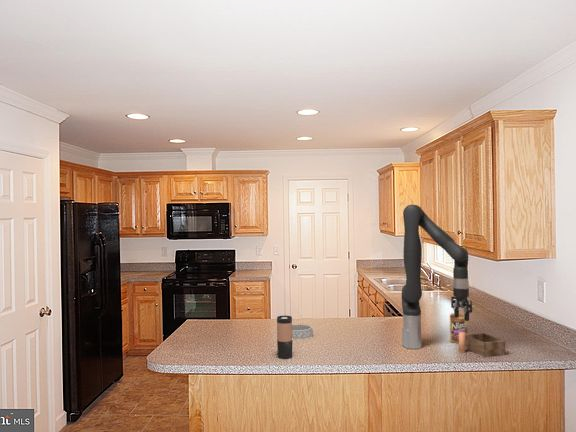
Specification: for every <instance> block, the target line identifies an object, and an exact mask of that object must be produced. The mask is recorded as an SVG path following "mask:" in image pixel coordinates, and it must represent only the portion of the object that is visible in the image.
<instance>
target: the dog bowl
mask: <svg viewBox="0 0 576 432" xmlns="http://www.w3.org/2000/svg"><path fill="white" fill-rule="evenodd" d="M313 333H314V330H313V327H312V326H311V325H309V324H306V323H305V324H304V323H303V324H302V323H301V324H299V323H296V324H294V323H293V324H292V338H293V339H305V338H310V337H312V336H313V337H314V334H313ZM313 337H312V338H313ZM310 339H311V338H310ZM305 340H306V339H305Z"/></svg>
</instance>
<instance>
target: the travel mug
mask: <svg viewBox="0 0 576 432" xmlns="http://www.w3.org/2000/svg"><path fill="white" fill-rule="evenodd" d="M292 325H293V317H292V315H279V316H277V317H276V337H277V338H276V345H277V358H278V359H280V360H290V359H292V358H293V340H292ZM289 358H290V359H289Z"/></svg>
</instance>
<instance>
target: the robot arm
mask: <svg viewBox="0 0 576 432" xmlns="http://www.w3.org/2000/svg"><path fill="white" fill-rule="evenodd" d="M402 215H403V225H404V229H403V230H404V236H403V264H404V270H405V275H406V277H405V284H404V285H403V287H402V289H401V308H402V327H401V345H402V347H403V348H406V349H409V350H411V349H412V350H416V349H421V348H422V343H423V342H422V310H421V306H420V300H421V298H422V295H423V289H422V281H421V279H422V278H421V276H422V275H421V272H422V252H423V251H422V241H421V238H420V233H419V232H420V231H419V229H420V228H422V230H424V231H425V232H426V234H427V235H428V236H429V237H430V238H431V239H432V240H433V241H434V242H435V243H436V244H438V246H439V247H441V249H443V250H444V251H445V252H446V253H447V254H448V256H450V257H451V259H453V260H454V261H453V262H454V263H453V264H454V265H453V271H452V272H453V273H452V275H453V279H452V280H453V281H452V295H453V296H451V298H450V299H451V302H450V303H451V304H450V308H451V309H453V314H454V317H459V314H460V308H461V309H462V310H463V315H464V320H465V321H468V322H469V321H470V314H471V313H473V304H472V303H473V302H472V300H469V299H468V298H469V296H470V285H469V283H470V282H469V271H468V270H469V269H468V266H469V251H468V250H467V249H466V248H465V247H462V246H460V245H459V244H458V243H456V242H455V240H454V239H453V238H452V236H450V235H449V234H448V233H447V232H446V231H444V230H443V229H442V228H441V227H440V226H438V225H437V224H436V223H435V222H434V221H433V220H432V219H431V218H430V217H429V216H428V215H427V214H426V212H425V211H424V210H423V209H422V207H421V206H419V205H417V204H408V205H406V206H405V208H404V209H403V213H402Z"/></svg>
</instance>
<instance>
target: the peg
mask: <svg viewBox="0 0 576 432" xmlns="http://www.w3.org/2000/svg"><path fill="white" fill-rule="evenodd" d="M458 353H460V354H465V353H466V349H465V332H459V343H458Z"/></svg>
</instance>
